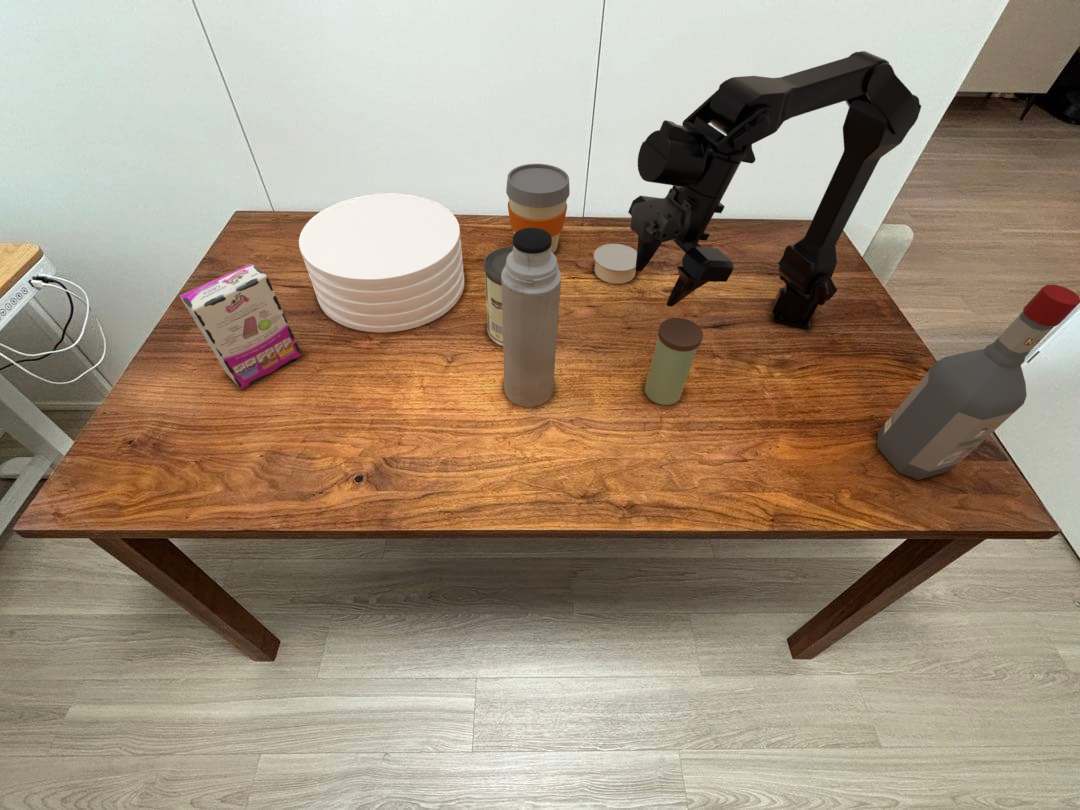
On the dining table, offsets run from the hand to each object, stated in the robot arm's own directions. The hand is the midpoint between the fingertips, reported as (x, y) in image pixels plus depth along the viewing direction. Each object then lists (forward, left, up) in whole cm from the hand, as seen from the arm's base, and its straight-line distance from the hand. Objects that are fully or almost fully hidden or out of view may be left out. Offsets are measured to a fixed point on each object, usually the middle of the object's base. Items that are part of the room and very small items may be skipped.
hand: (653, 287), depth 81 cm
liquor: (-44, +6, -15) cm, 47 cm away
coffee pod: (+9, -24, -15) cm, 30 cm away
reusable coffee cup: (+27, -27, -15) cm, 42 cm away
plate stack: (+49, -4, -15) cm, 52 cm away
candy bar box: (+58, +23, -16) cm, 65 cm away
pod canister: (-6, +6, -15) cm, 17 cm away
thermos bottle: (+15, +13, -15) cm, 25 cm away
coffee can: (+22, 0, -15) cm, 27 cm away
